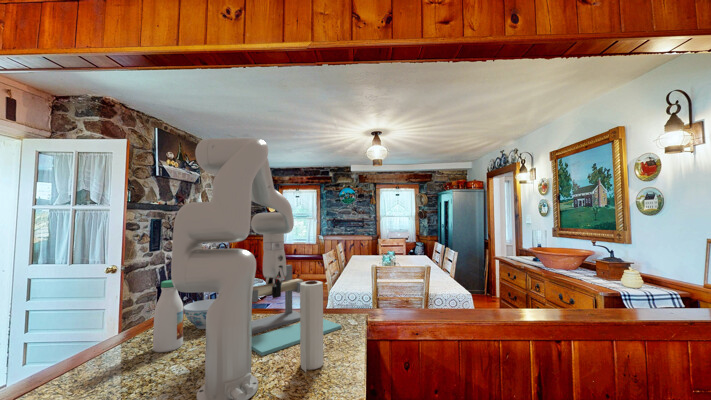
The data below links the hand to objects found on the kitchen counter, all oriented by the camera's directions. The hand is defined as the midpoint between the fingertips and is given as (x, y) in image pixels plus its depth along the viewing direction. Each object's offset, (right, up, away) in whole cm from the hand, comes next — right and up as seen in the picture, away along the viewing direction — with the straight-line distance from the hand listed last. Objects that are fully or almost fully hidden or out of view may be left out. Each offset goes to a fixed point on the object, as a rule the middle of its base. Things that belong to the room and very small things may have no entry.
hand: (273, 295), depth 112 cm
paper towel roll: (+19, -8, -34) cm, 39 cm away
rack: (0, -10, 0) cm, 10 cm away
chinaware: (-24, -11, -2) cm, 27 cm away
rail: (0, +1, 0) cm, 1 cm away
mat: (+10, -9, -12) cm, 19 cm away
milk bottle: (-26, -9, -21) cm, 35 cm away
